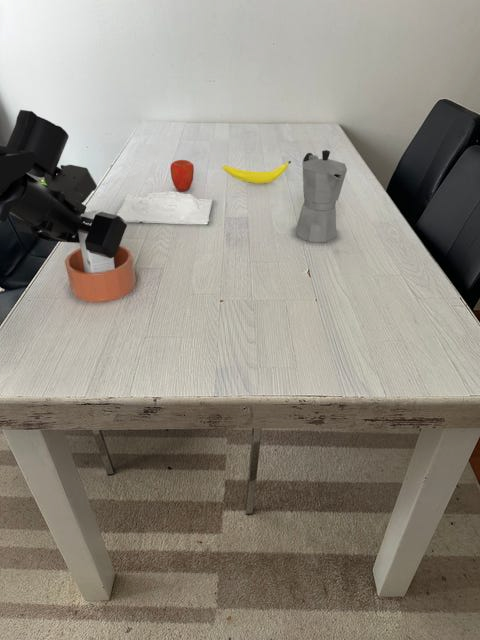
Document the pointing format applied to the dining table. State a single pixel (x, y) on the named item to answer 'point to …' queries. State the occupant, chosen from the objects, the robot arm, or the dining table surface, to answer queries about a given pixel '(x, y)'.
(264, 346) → the dining table surface
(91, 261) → the cosmetic box
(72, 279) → the crock
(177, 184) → the red rounded piece
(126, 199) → the terrain model
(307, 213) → the coffeepot
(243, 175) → the banana
